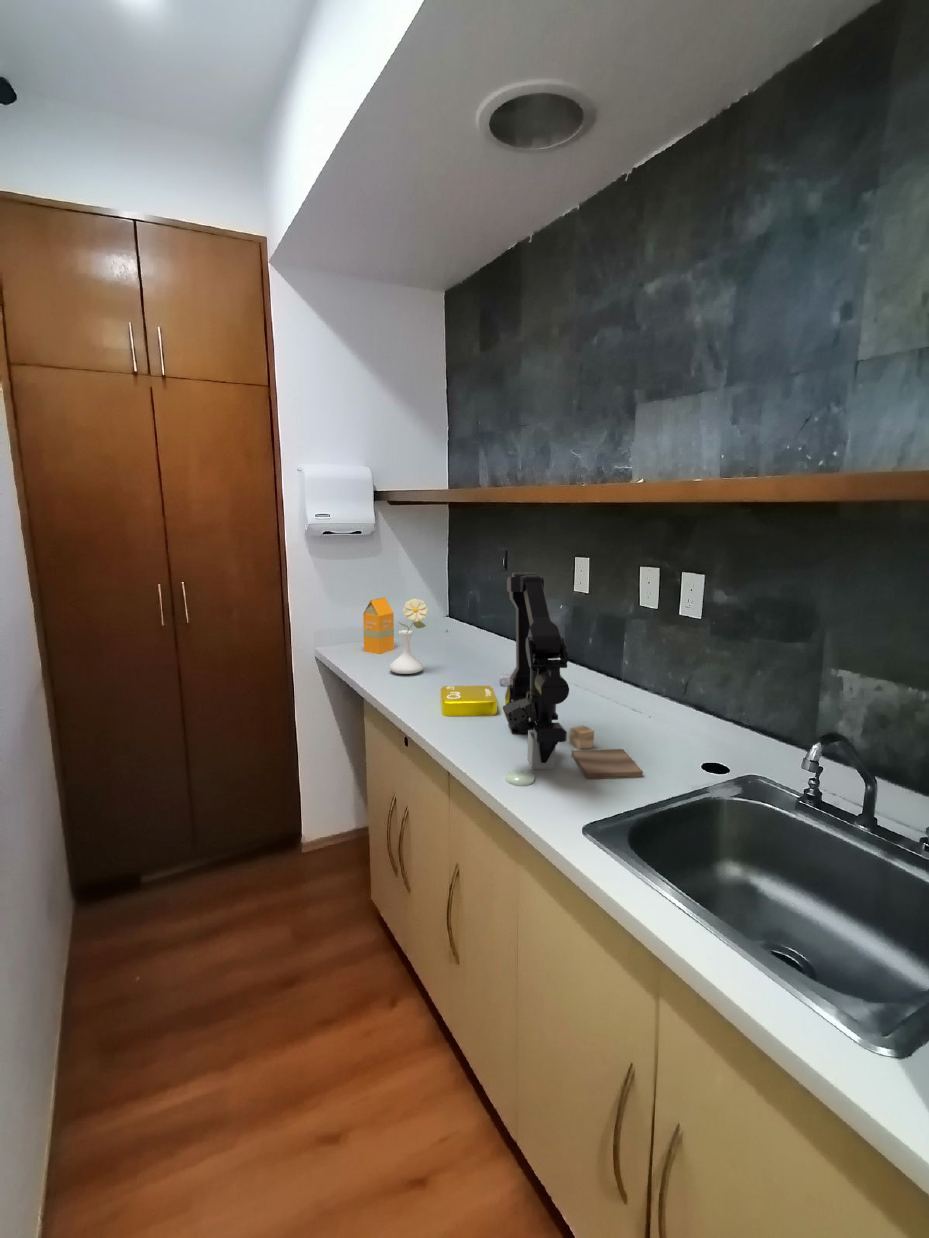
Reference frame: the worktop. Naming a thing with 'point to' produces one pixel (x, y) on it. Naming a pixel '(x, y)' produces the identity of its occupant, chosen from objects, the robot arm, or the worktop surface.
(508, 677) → the stone block
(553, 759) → the slate block
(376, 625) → the orange juice
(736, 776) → the worktop surface
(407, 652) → the flower in vase
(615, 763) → the walnut board
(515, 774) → the pale green rounded piece
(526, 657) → the robot arm
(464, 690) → the element tile
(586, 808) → the worktop surface
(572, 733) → the oak cube
